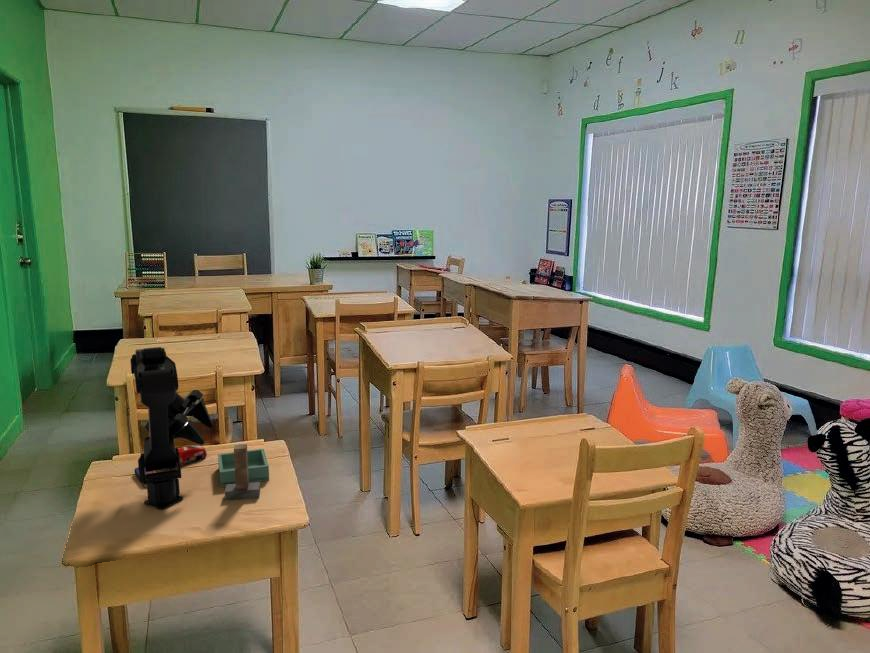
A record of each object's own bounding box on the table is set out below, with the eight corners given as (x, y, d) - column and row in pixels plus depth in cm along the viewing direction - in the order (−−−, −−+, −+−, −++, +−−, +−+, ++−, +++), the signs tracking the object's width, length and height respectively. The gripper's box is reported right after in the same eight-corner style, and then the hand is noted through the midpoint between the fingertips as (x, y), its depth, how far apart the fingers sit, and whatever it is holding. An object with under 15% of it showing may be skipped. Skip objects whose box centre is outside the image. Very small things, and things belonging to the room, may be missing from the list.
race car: (163, 473, 171) (162, 459, 171) (154, 467, 175) (153, 453, 174) (209, 458, 181) (208, 445, 180) (200, 453, 184) (199, 440, 184)
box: (269, 480, 168) (268, 465, 167) (220, 486, 163) (220, 472, 163) (264, 462, 179) (263, 448, 178) (218, 468, 174) (217, 454, 174)
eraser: (161, 486, 164) (161, 480, 164) (144, 490, 162) (144, 484, 161) (150, 470, 173) (149, 464, 172) (133, 473, 170) (133, 467, 170)
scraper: (225, 500, 156) (222, 450, 154) (227, 493, 160) (224, 444, 157) (259, 498, 158) (256, 448, 155) (260, 490, 162) (258, 442, 159)
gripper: (150, 398, 171) (195, 437, 176) (125, 431, 154) (175, 473, 158) (180, 372, 170) (224, 412, 175) (158, 402, 152) (207, 445, 157)
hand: (207, 435), depth 166 cm, fingers open, 9 cm apart
